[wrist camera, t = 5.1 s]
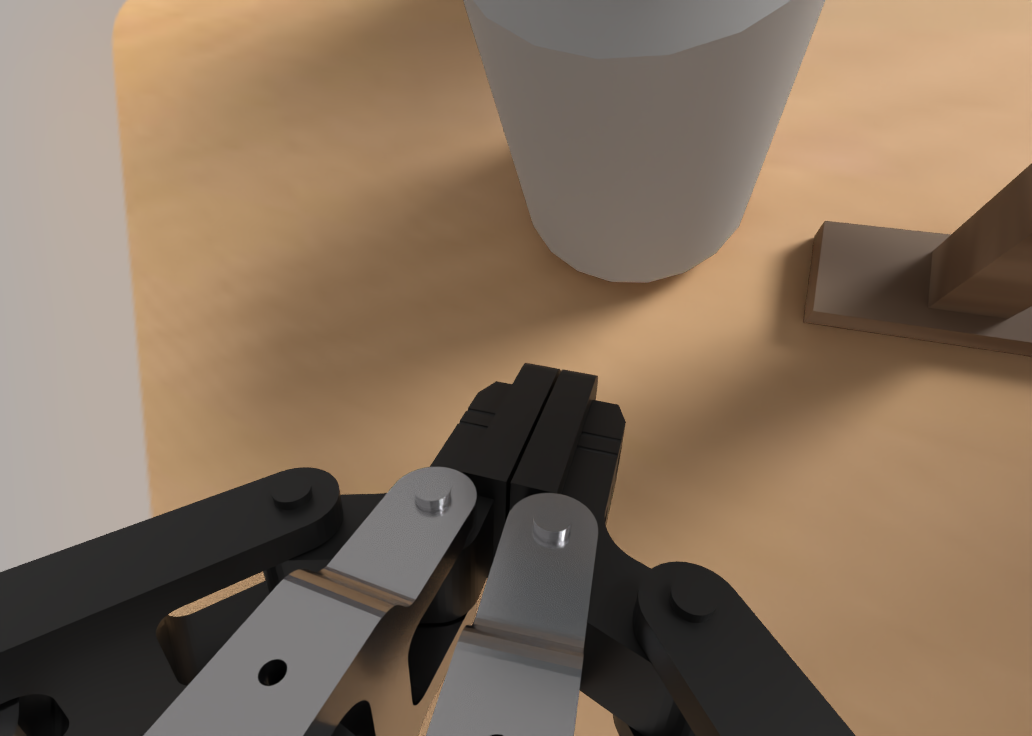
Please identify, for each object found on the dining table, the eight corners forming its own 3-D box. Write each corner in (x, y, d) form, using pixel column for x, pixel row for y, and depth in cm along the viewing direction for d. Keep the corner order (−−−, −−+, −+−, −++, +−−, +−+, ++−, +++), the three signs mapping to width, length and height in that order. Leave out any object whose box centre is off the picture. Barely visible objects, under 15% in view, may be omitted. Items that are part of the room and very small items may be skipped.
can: (537, 306, 20) (416, 12, 8) (524, 124, 22) (413, -313, 10) (764, 278, 19) (983, -108, 7) (728, 88, 21) (855, -449, 9)
